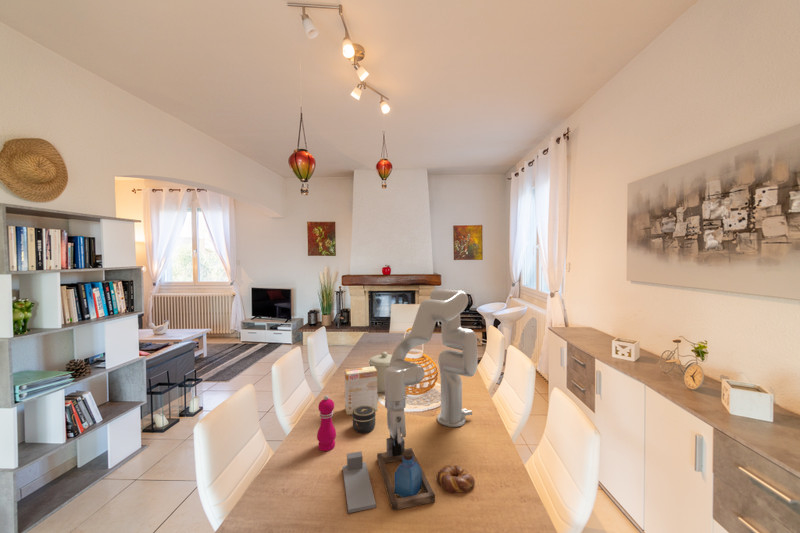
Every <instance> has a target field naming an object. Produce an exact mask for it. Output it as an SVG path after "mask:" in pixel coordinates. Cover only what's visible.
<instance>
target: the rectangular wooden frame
mask: <svg viewBox="0 0 800 533" xmlns="http://www.w3.org/2000/svg"><path fill="white" fill-rule="evenodd" d="M396 440H397V439H395V441H396ZM401 441H402V444H401V455H398V456H393V455H392V445H393V438H390V437H387V438H386V451H385V452H378V453H377V454H376V459H377V463H378V466H379V470H380V472H381V476H382V480H383V483H384V486H385V489H386V493H387V496H388V499H389V502H390V507H391V509H392V511H397V510H402V509H406V508H411V507H416V506H421V505H426V504H431V503H435V502H436V494H435V491H434V490H433V488H432V486H431V484H430V482H429V479H428V478H427V477H426V476H427V475H426V474H425V472H424V470H423V468H422V465H421V464H420V462H419V460H418V458H417V456H416V454H415V452H414V450H413V448H412V447H408V448H405V437H403V436H402V435H401ZM406 450H410V451H412V452H413V461H414V462H417V464H418V465H419V467H420V468H421V478H422V488H423V489H424V490H423V491H424V493H418V494H417V495H413V496H408V497H398V498H397V496H396V494H395V493H394V487H393V484H392V481H391V478H390V475H389V473H388V469H387V466H386V464H387V463H392V462H398V461H399V462H400V461H403V460H402V457H403V452H404V451H406Z"/></svg>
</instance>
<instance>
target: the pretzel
mask: <svg viewBox="0 0 800 533" xmlns="http://www.w3.org/2000/svg"><path fill="white" fill-rule="evenodd" d="M437 472H438V473H437V476H436V478H437V480H436V481H437V482H438V484H439V485H440V486H442V488H443V489H444V490H445V491H446V492H448V493H450V494H451V493H452V494H454V493H457V492H458V493H462V492H464V493H467V492H468V491H469V490H470V489H471V488H473V487H474V485H475V479H474V476H473V475H472V474H470V473H469V472H468V470H467V469H465V468H463V469H462V467H461V466H460V465H459V466H458V465H445V466H443V467H442V468H441V469H439V471H437Z"/></svg>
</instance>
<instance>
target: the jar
mask: <svg viewBox="0 0 800 533" xmlns="http://www.w3.org/2000/svg"><path fill="white" fill-rule="evenodd" d="M351 415H352V416H351V417H352V428H353V430H354V432H356V433H359V434H367V433H371V432H372V431H373V430H374V429H375V426H376V410H375V409H374V408H373V407H371V406H359V407H356V408H355V409H354V410H353V413H352V414H351Z"/></svg>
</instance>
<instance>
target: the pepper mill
mask: <svg viewBox="0 0 800 533" xmlns="http://www.w3.org/2000/svg"><path fill="white" fill-rule="evenodd" d="M334 409H335V402H334V401H333V400H332V399H331V398H330V397H329V395H327V394H326V395H324V397H323V399H322V400H320V401H319V403H318V411H319V417H320V425H319V429H318V430H317V434H316V435H317V436H316V439H317V441H318V445H317V446H318V450H320V451H321V452H328V451H332V450H333V449H334V448H335V446H336V440H335V439H336V438H337V431H336V428H335V426H334V423H333V415H334Z"/></svg>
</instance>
